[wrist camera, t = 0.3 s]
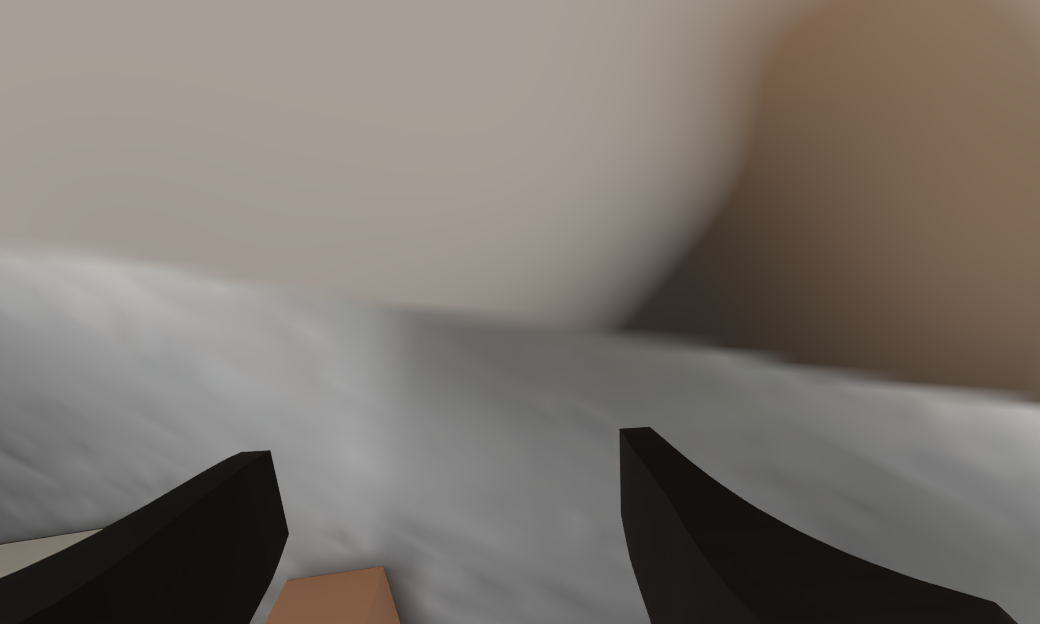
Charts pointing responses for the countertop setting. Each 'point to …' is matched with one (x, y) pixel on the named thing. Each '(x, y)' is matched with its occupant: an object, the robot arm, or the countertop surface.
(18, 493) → the countertop surface
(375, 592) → the plug
